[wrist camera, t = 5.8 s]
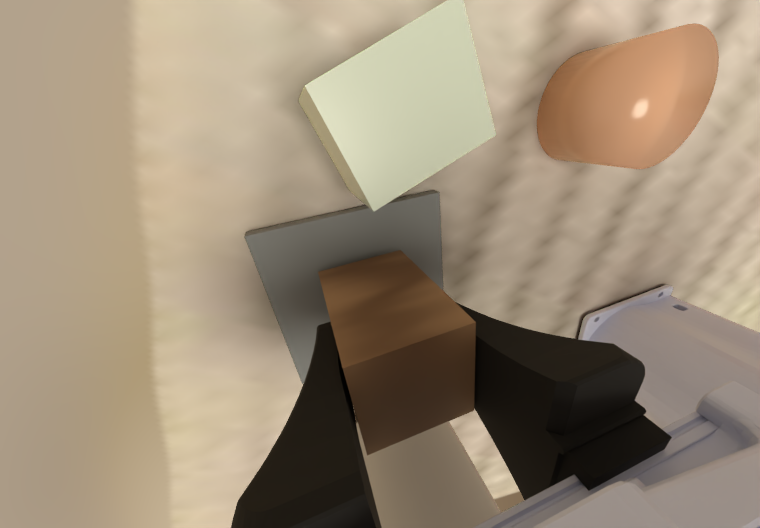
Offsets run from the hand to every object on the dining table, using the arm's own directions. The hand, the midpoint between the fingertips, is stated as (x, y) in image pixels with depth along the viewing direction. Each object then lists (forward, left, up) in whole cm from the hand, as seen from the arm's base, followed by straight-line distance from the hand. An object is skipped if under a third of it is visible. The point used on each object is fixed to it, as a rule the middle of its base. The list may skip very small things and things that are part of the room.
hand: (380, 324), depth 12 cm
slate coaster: (0, 0, -3) cm, 3 cm away
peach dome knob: (-13, -7, -3) cm, 15 cm away
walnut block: (0, 0, -2) cm, 2 cm away
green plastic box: (-2, -8, -3) cm, 9 cm away
